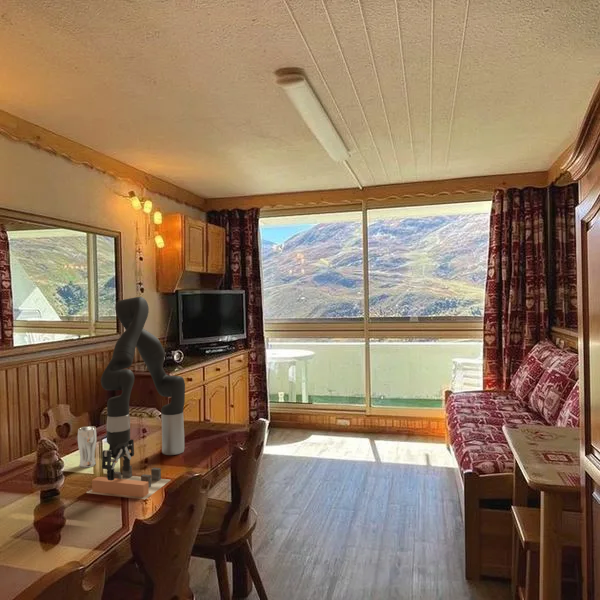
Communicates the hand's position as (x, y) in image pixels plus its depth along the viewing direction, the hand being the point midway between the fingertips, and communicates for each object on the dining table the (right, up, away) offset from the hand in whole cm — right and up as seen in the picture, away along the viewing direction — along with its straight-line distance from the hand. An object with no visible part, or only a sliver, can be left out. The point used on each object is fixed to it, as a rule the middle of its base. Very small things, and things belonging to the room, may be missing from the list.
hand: (118, 475), depth 161 cm
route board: (+2, -7, +6) cm, 9 cm away
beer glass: (-24, -7, +30) cm, 39 cm away
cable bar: (0, -6, 0) cm, 6 cm away
